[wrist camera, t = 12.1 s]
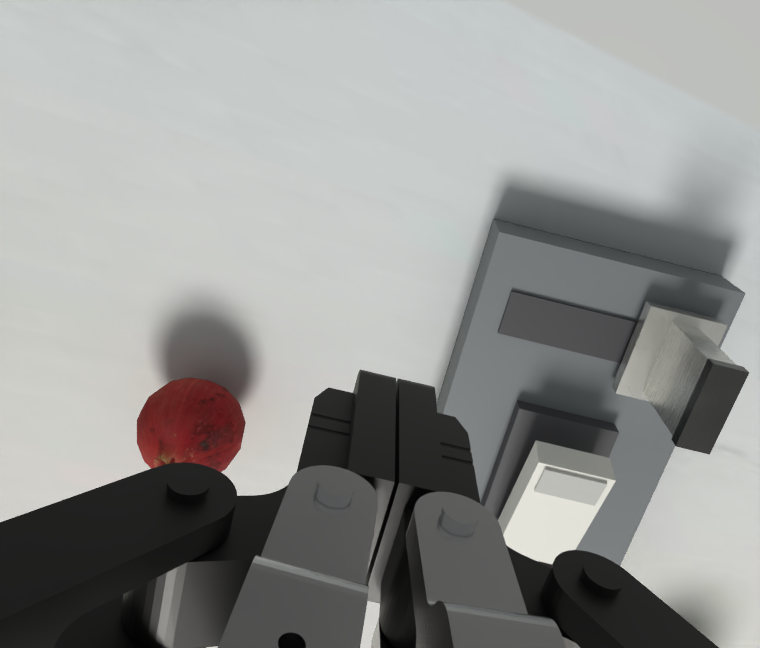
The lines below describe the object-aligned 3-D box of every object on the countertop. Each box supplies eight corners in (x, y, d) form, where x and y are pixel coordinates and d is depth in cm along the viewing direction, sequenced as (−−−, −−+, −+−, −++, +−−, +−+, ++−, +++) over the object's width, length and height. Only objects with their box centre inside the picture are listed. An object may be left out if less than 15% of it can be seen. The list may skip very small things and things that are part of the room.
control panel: (381, 585, 47) (378, 631, 43) (493, 218, 38) (501, 236, 34) (565, 628, 48) (578, 676, 44) (721, 275, 38) (754, 299, 35)
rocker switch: (494, 528, 40) (495, 554, 38) (535, 440, 36) (538, 465, 34) (561, 544, 40) (565, 570, 38) (610, 458, 36) (616, 483, 34)
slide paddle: (611, 386, 37) (646, 447, 31) (646, 300, 35) (690, 348, 30) (682, 403, 37) (731, 467, 32) (721, 319, 36) (780, 370, 30)
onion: (240, 348, 41) (201, 412, 34) (268, 431, 43) (236, 509, 36) (150, 366, 42) (92, 433, 35) (181, 447, 44) (132, 527, 37)
